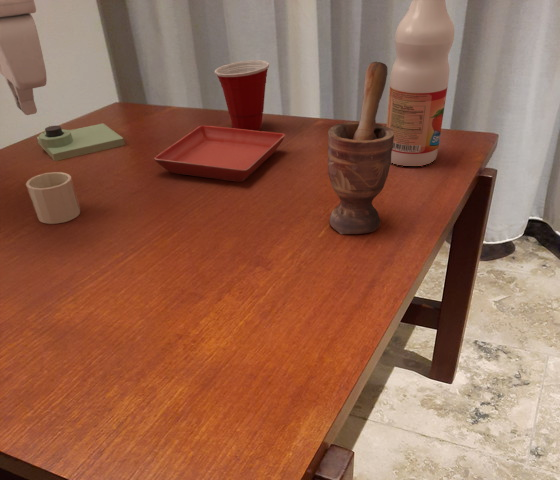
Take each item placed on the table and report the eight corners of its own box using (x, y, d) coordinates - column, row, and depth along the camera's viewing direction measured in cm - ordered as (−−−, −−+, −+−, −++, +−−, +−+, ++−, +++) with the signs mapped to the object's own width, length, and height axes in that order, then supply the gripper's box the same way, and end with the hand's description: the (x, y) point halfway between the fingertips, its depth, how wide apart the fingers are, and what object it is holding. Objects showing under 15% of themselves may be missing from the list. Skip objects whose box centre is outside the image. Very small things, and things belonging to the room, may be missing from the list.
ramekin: (44, 227, 84) (32, 192, 80) (33, 212, 88) (21, 178, 84) (86, 216, 86) (76, 181, 83) (73, 202, 90) (63, 168, 87)
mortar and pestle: (325, 202, 87) (327, 59, 74) (380, 201, 86) (393, 58, 73) (326, 237, 78) (330, 82, 65) (388, 236, 78) (404, 80, 65)
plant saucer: (247, 188, 92) (246, 168, 90) (154, 176, 97) (151, 157, 95) (287, 151, 105) (286, 133, 102) (202, 142, 110) (200, 124, 108)
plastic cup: (226, 120, 120) (220, 58, 112) (275, 121, 118) (273, 58, 111) (215, 137, 112) (207, 72, 104) (267, 138, 110) (264, 71, 102)
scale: (52, 162, 105) (47, 145, 103) (36, 144, 112) (31, 129, 110) (125, 145, 110) (121, 129, 108) (104, 129, 118) (101, 115, 116)
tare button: (49, 139, 106) (47, 131, 105) (45, 135, 108) (43, 127, 107) (65, 136, 108) (62, 128, 107) (60, 132, 110) (58, 124, 109)
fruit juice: (378, 151, 103) (393, -35, 85) (428, 147, 103) (454, -38, 85) (389, 170, 96) (408, -29, 78) (443, 166, 96) (474, -32, 78)
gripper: (-51, -13, 73) (-11, 99, 83) (-22, 3, 60) (22, 134, 69) (-2, -18, 76) (31, 91, 85) (36, -4, 63) (71, 124, 72)
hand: (27, 111), depth 77 cm, fingers closed
